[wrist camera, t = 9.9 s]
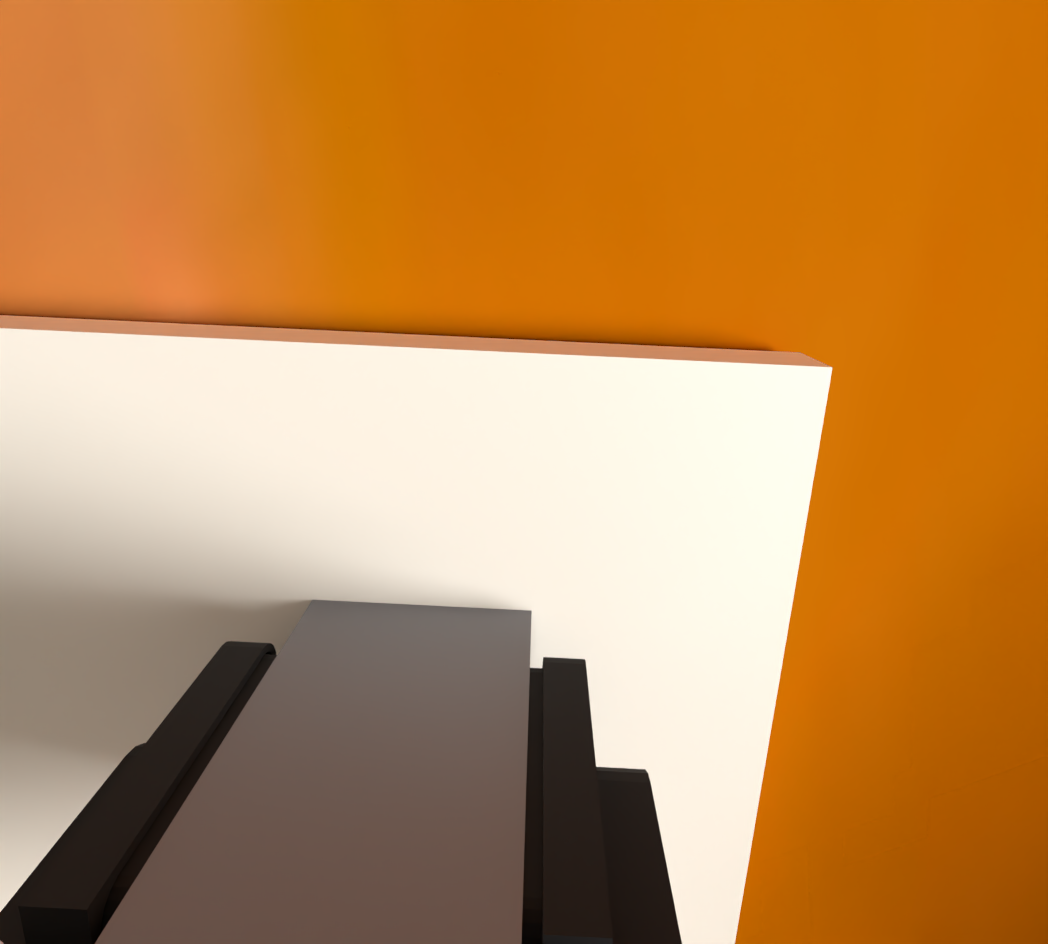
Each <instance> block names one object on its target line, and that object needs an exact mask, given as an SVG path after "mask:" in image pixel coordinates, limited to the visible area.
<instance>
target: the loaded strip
mask: <svg viewBox="0 0 1048 944" xmlns="http://www.w3.org/2000/svg"><path fill="white" fill-rule="evenodd" d="M831 373H832V367H831V366H828V365H826V364H824V363H822V362H820V361H818V360H815V359H813V358H811V357H809V356H807V355H804V354H802V353H800V352H779V351H757V350H736V349H714V348H693V347H672V346H650V345H629V344H608V343H586V342H565V341H544V340H522V339H501V338H479V337H458V336H437V335H415V334H394V333H373V332H351V331H330V330H309V329H287V328H266V327H244V326H223V325H202V324H180V323H159V322H138V321H116V320H95V319H73V318H52V317H31V316H9V315H0V912H1V911H2V909H3V908H4V907H5V906H6V904H7V903H8V902H9V901H10V899H11V898H12V897H13V896H14V894H15V893H16V892H17V891H18V889H19V888H20V887H21V886H22V884H23V883H24V882H25V881H26V879H27V878H28V877H29V876H30V874H31V873H32V872H33V871H34V869H35V868H36V867H37V866H38V864H39V863H40V862H41V861H42V859H43V858H44V857H45V856H46V854H47V853H48V852H49V851H50V849H51V848H52V847H53V846H54V844H55V843H56V842H57V841H58V839H59V838H60V837H61V836H62V834H63V833H64V832H65V831H66V829H67V828H68V827H69V826H70V824H71V823H72V822H73V821H74V819H75V818H76V817H77V816H78V814H79V813H80V812H81V811H82V810H83V808H84V807H85V806H86V805H87V803H88V802H89V801H90V800H91V798H92V797H93V796H94V795H95V793H96V792H97V791H98V790H99V788H100V787H101V786H102V785H103V783H104V782H105V781H106V780H107V778H108V777H109V776H110V775H111V773H112V772H113V771H114V770H115V768H116V767H117V766H118V765H119V763H120V762H121V761H122V760H123V758H124V757H125V756H126V755H127V754H128V753H129V752H130V751H131V750H132V749H133V748H134V747H135V746H137V745H140V744H143V743H146V742H147V741H148V739H149V738H150V737H151V735H152V734H153V733H154V732H155V730H156V729H157V728H158V726H159V725H160V724H161V723H162V721H163V720H164V719H165V717H166V716H167V715H168V714H169V712H170V711H171V710H172V709H173V707H174V706H175V705H176V703H177V702H178V701H179V700H180V698H181V697H182V696H183V694H184V693H185V692H186V691H187V689H188V688H189V687H190V686H191V684H192V683H193V682H194V680H195V679H196V678H197V677H198V675H199V674H200V673H201V671H202V670H203V669H204V668H205V666H206V665H207V664H208V662H209V661H210V660H211V659H212V657H213V656H214V655H215V654H216V652H217V651H218V650H219V648H220V647H221V646H222V645H223V644H224V643H225V642H227V641H239V642H259V643H271V644H273V645H274V647H275V650H276V655H277V656H276V658H275V659H274V661H273V663H272V664H271V666H270V667H269V669H268V670H267V672H266V674H265V675H264V677H263V678H262V680H261V682H260V683H259V685H258V686H257V688H256V689H255V691H254V693H253V694H252V696H251V697H250V699H249V701H248V702H247V704H246V705H245V707H244V708H243V710H242V712H241V713H240V715H239V716H238V718H237V719H236V721H235V723H234V724H233V726H232V727H231V729H230V731H229V732H228V734H227V735H226V737H225V738H224V740H223V742H222V743H221V745H220V746H219V748H218V750H217V751H216V753H215V754H214V756H213V757H212V759H211V761H210V762H209V764H208V765H207V767H206V768H205V770H204V772H203V773H202V775H201V776H200V778H199V780H198V781H197V783H196V784H195V786H194V787H193V789H192V791H191V792H190V794H189V795H188V797H187V799H186V800H185V802H184V803H183V805H182V806H181V808H180V810H179V811H178V813H177V814H176V816H175V817H174V819H173V821H172V822H171V824H170V825H169V827H168V829H167V830H166V832H165V833H164V835H163V836H162V838H161V840H160V841H159V843H158V844H157V846H156V848H155V849H154V851H153V852H152V854H151V855H150V857H149V859H148V860H147V862H146V863H145V865H144V867H143V868H142V870H141V871H140V873H139V874H138V876H137V878H136V879H135V881H134V882H133V884H132V885H131V887H130V889H129V890H128V892H127V893H126V895H125V897H124V898H123V900H122V901H121V903H120V904H119V906H118V908H117V909H116V911H115V912H114V914H113V916H112V917H111V919H110V920H109V922H108V923H107V925H106V927H105V928H104V930H103V931H102V933H101V934H100V936H99V938H98V939H97V941H96V942H95V944H521V943H522V910H523V877H524V844H525V811H526V778H527V745H528V712H529V679H530V668H542V665H543V657H554V658H573V659H585V661H586V669H587V679H588V689H589V700H590V710H591V720H592V730H593V740H594V751H595V761H596V767H610V768H629V769H646V771H647V772H648V775H649V779H650V782H651V787H652V792H653V798H654V803H655V808H656V813H657V818H658V823H659V828H660V834H661V839H662V844H663V849H664V854H665V859H666V864H667V869H668V875H669V880H670V885H671V890H672V895H673V900H674V905H675V911H676V916H677V921H678V926H679V931H680V936H681V941H682V944H735V939H736V933H737V927H738V922H739V916H740V910H741V904H742V898H743V892H744V886H745V880H746V874H747V868H748V863H749V857H750V851H751V845H752V839H753V833H754V827H755V821H756V815H757V809H758V804H759V798H760V792H761V786H762V780H763V774H764V768H765V762H766V756H767V750H768V745H769V739H770V733H771V727H772V721H773V715H774V709H775V703H776V697H777V691H778V686H779V680H780V674H781V668H782V662H783V656H784V650H785V644H786V638H787V632H788V627H789V621H790V615H791V609H792V603H793V597H794V591H795V585H796V579H797V573H798V568H799V562H800V556H801V550H802V544H803V538H804V532H805V526H806V520H807V514H808V509H809V503H810V497H811V491H812V485H813V479H814V473H815V467H816V461H817V455H818V450H819V444H820V438H821V432H822V426H823V420H824V414H825V408H826V402H827V396H828V391H829V385H830V379H831Z"/></svg>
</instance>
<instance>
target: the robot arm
mask: <svg viewBox="0 0 1048 944" xmlns="http://www.w3.org/2000/svg"><path fill="white" fill-rule="evenodd" d="M276 656H277V655H276V650H275V647H274V645H273V644H271V643H259V642H239V641H227V642H225V643H224V644H223V645H222V646H221V647H220V648H219V650H218V651H217V652H216V654H215V655H214V656H213V657H212V659H211V660H210V661H209V662H208V664H207V665H206V666H205V668H204V669H203V670H202V671H201V673H200V674H199V675H198V677H197V678H196V679H195V680H194V682H193V683H192V684H191V686H190V687H189V688H188V689H187V691H186V692H185V693H184V694H183V696H182V697H181V698H180V700H179V701H178V702H177V703H176V705H175V706H174V707H173V709H172V710H171V711H170V712H169V714H168V715H167V716H166V717H165V719H164V720H163V721H162V723H161V724H160V725H159V726H158V728H157V729H156V730H155V732H154V733H153V734H152V735H151V737H150V738H149V739H148V741H147V742H146V743H143V744H140V745H137V746H135V747H134V748H133V749H132V750H131V751H130V752H129V753H128V754H127V755H126V756H125V757H124V758H123V760H122V761H121V762H120V763H119V765H118V766H117V767H116V768H115V770H114V771H113V772H112V773H111V775H110V776H109V777H108V778H107V780H106V781H105V782H104V783H103V785H102V786H101V787H100V788H99V790H98V791H97V792H96V793H95V795H94V796H93V797H92V798H91V800H90V801H89V802H88V803H87V805H86V806H85V807H84V808H83V810H82V811H81V812H80V813H79V814H78V816H77V817H76V818H75V819H74V821H73V822H72V823H71V824H70V826H69V827H68V828H67V829H66V831H65V832H64V833H63V834H62V836H61V837H60V838H59V839H58V841H57V842H56V843H55V844H54V846H53V847H52V848H51V849H50V851H49V852H48V853H47V854H46V856H45V857H44V858H43V859H42V861H41V862H40V863H39V864H38V866H37V867H36V868H35V869H34V871H33V872H32V873H31V874H30V876H29V877H28V878H27V879H26V881H25V882H24V883H23V884H22V886H21V887H20V888H19V889H18V891H17V892H16V893H15V894H14V896H13V897H12V898H11V899H10V901H9V902H8V903H7V904H6V906H5V907H4V908H3V909H2V911H1V912H0V944H95V942H96V941H97V939H98V938H99V936H100V934H101V933H102V931H103V930H104V928H105V927H106V925H107V923H108V922H109V920H110V919H111V917H112V916H113V914H114V912H115V911H116V909H117V908H118V906H119V904H120V903H121V901H122V900H123V898H124V897H125V895H126V893H127V892H128V890H129V889H130V887H131V885H132V884H133V882H134V881H135V879H136V878H137V876H138V874H139V873H140V871H141V870H142V868H143V867H144V865H145V863H146V862H147V860H148V859H149V857H150V855H151V854H152V852H153V851H154V849H155V848H156V846H157V844H158V843H159V841H160V840H161V838H162V836H163V835H164V833H165V832H166V830H167V829H168V827H169V825H170V824H171V822H172V821H173V819H174V817H175V816H176V814H177V813H178V811H179V810H180V808H181V806H182V805H183V803H184V802H185V800H186V799H187V797H188V795H189V794H190V792H191V791H192V789H193V787H194V786H195V784H196V783H197V781H198V780H199V778H200V776H201V775H202V773H203V772H204V770H205V768H206V767H207V765H208V764H209V762H210V761H211V759H212V757H213V756H214V754H215V753H216V751H217V750H218V748H219V746H220V745H221V743H222V742H223V740H224V738H225V737H226V735H227V734H228V732H229V731H230V729H231V727H232V726H233V724H234V723H235V721H236V719H237V718H238V716H239V715H240V713H241V712H242V710H243V708H244V707H245V705H246V704H247V702H248V701H249V699H250V697H251V696H252V694H253V693H254V691H255V689H256V688H257V686H258V685H259V683H260V682H261V680H262V678H263V677H264V675H265V674H266V672H267V670H268V669H269V667H270V666H271V664H272V663H273V661H274V659H275V658H276ZM521 944H682V941H681V936H680V931H679V926H678V921H677V916H676V911H675V905H674V900H673V895H672V890H671V885H670V880H669V875H668V869H667V864H666V859H665V854H664V849H663V844H662V839H661V834H660V828H659V823H658V818H657V813H656V808H655V803H654V798H653V792H652V787H651V782H650V779H649V775H648V772H647V771H646V769H629V768H610V767H596V761H595V751H594V740H593V730H592V720H591V710H590V700H589V689H588V679H587V669H586V661H585V659H573V658H554V657H543V665H542V668H530V679H529V712H528V745H527V778H526V811H525V844H524V877H523V910H522V943H521Z"/></svg>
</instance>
